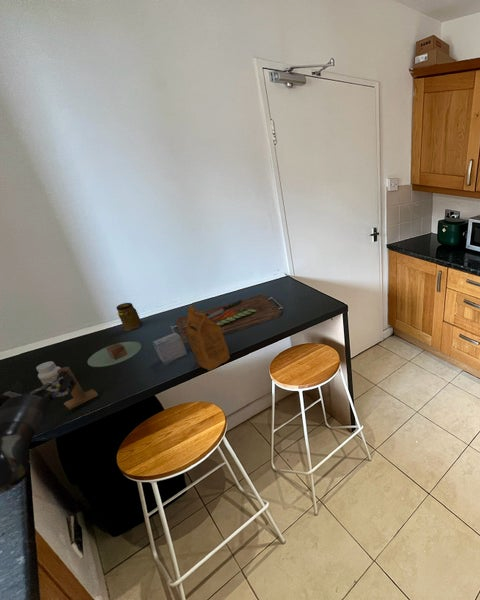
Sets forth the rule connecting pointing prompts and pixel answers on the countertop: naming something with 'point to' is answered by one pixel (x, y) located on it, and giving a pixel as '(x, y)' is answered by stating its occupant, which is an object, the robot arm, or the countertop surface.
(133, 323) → the condiment
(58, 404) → the countertop surface
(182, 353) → the medicine box
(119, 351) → the reddish brown cube
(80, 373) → the countertop surface
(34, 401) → the robot arm
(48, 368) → the supplement bottle
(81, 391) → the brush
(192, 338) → the coffee package
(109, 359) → the turntable plate
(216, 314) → the chopping board
